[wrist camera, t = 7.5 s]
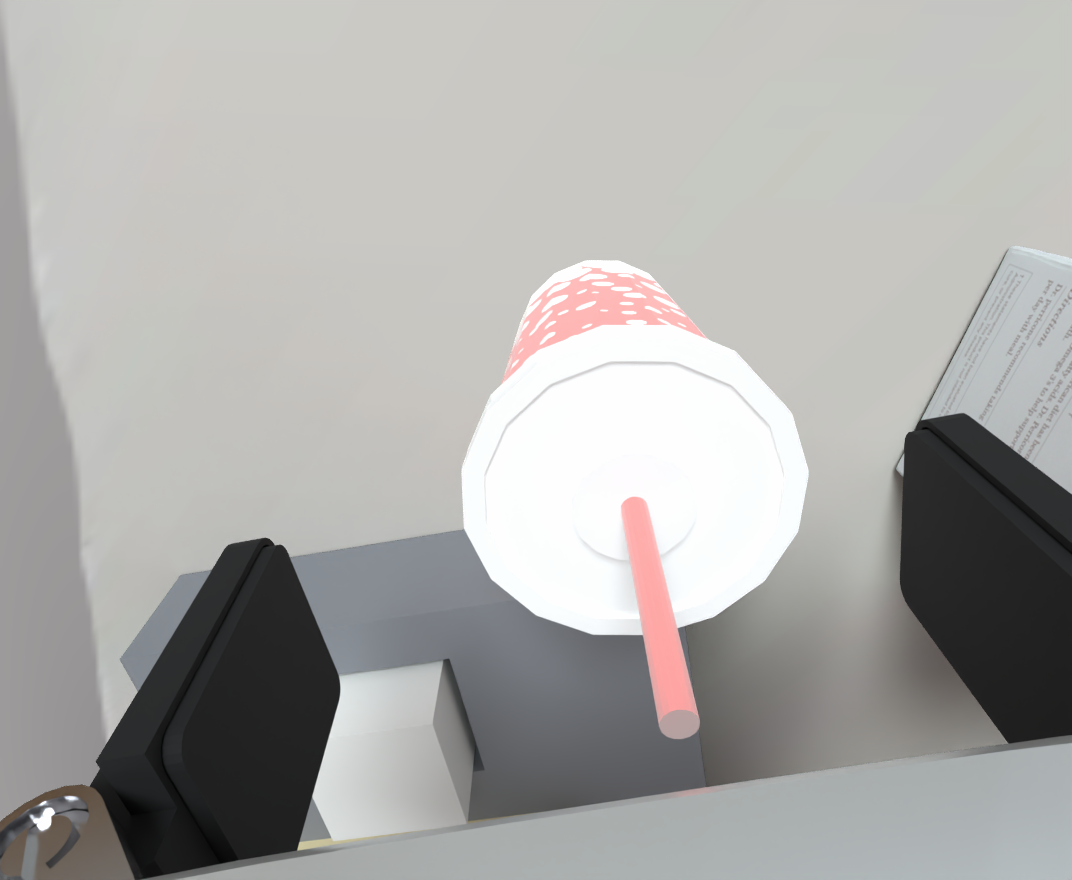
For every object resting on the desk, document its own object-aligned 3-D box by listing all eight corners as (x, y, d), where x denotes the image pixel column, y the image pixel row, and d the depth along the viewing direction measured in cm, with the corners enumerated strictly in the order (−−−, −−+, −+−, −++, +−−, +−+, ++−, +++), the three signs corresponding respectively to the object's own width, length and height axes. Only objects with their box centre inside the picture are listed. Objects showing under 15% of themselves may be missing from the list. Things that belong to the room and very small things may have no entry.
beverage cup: (448, 310, 21) (303, 666, 8) (638, 184, 19) (814, 382, 7) (566, 471, 23) (593, 944, 10) (744, 368, 22) (1027, 779, 9)
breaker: (449, 622, 23) (432, 723, 20) (478, 716, 25) (467, 824, 21) (326, 641, 23) (287, 744, 20) (362, 732, 25) (333, 841, 22)
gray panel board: (657, 498, 23) (687, 611, 18) (710, 877, 32) (742, 1026, 27) (180, 575, 25) (91, 699, 20) (349, 918, 33) (315, 1067, 28)
